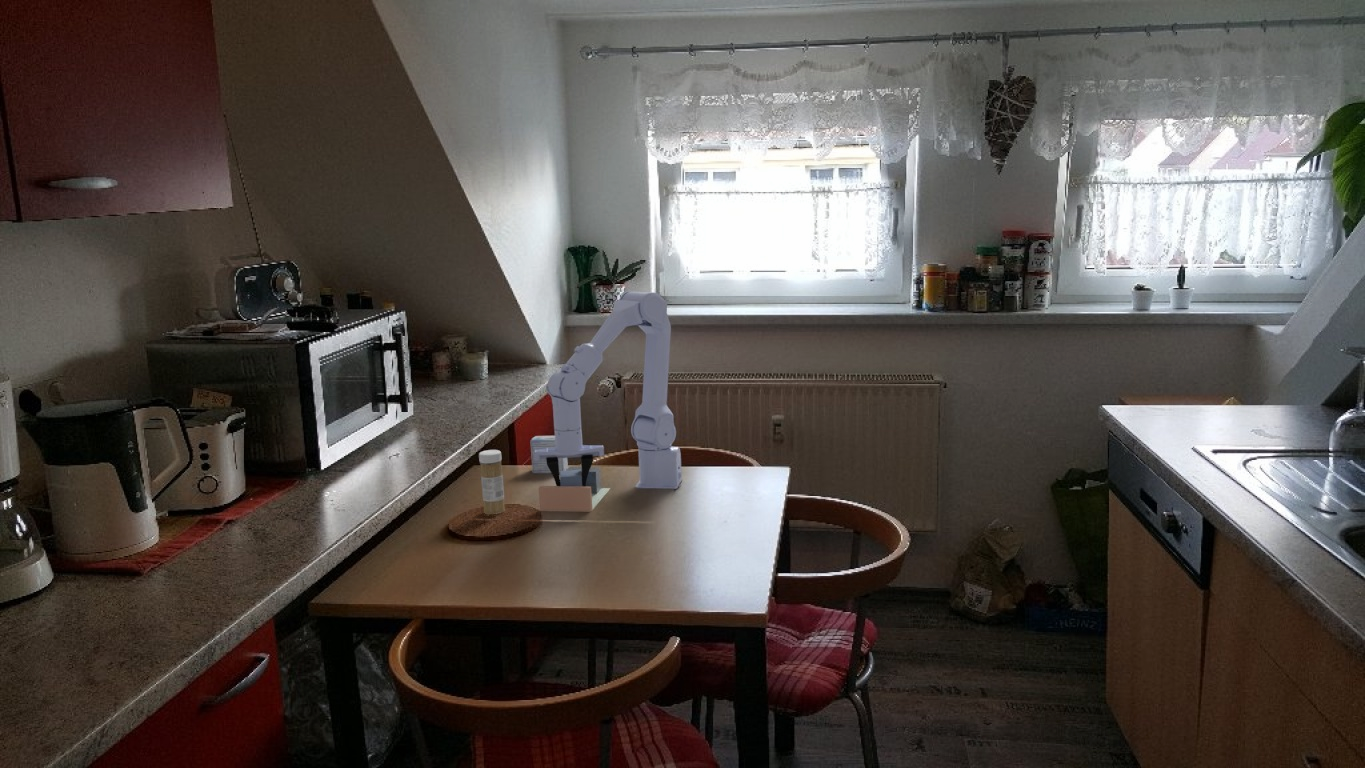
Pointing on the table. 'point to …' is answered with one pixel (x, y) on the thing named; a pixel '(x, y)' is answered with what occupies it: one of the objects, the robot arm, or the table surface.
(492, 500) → the sprinkles bottle
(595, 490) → the grey toy block
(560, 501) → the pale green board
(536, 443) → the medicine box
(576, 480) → the slate blue carton
